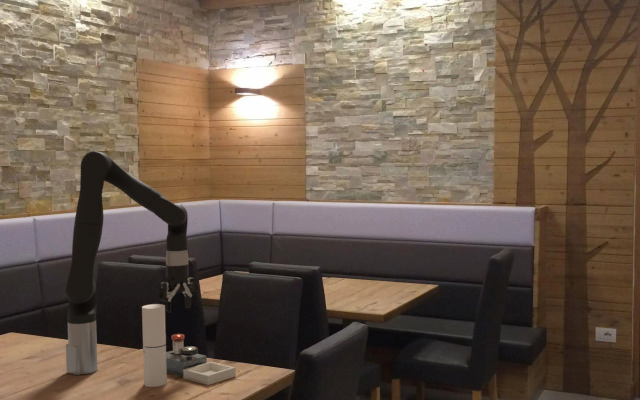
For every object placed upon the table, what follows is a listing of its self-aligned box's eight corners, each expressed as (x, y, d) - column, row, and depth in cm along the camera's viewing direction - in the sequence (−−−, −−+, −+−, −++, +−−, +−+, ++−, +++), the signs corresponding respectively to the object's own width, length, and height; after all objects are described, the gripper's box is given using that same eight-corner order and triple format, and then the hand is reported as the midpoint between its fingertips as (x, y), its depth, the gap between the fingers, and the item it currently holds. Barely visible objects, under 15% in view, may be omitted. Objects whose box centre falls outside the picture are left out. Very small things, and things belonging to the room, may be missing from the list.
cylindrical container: (155, 388, 231) (153, 309, 230) (139, 384, 235) (137, 307, 234) (171, 382, 237) (169, 305, 236) (155, 379, 241) (153, 303, 240)
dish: (208, 385, 234) (208, 375, 233) (183, 378, 241) (183, 369, 241) (235, 376, 243) (235, 367, 243) (211, 370, 250) (210, 361, 250)
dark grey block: (183, 377, 243) (183, 352, 242) (155, 369, 252) (154, 345, 252) (206, 370, 250) (206, 346, 250) (178, 363, 260) (177, 340, 259)
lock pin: (177, 370, 251) (177, 337, 251) (169, 367, 254) (168, 335, 253) (187, 367, 255) (187, 335, 254) (179, 365, 257) (178, 333, 257)
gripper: (185, 260, 260) (186, 305, 261) (153, 264, 249) (154, 312, 250) (200, 261, 256) (201, 308, 256) (168, 266, 245) (169, 314, 245)
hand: (178, 310), depth 253 cm, fingers open, 8 cm apart
